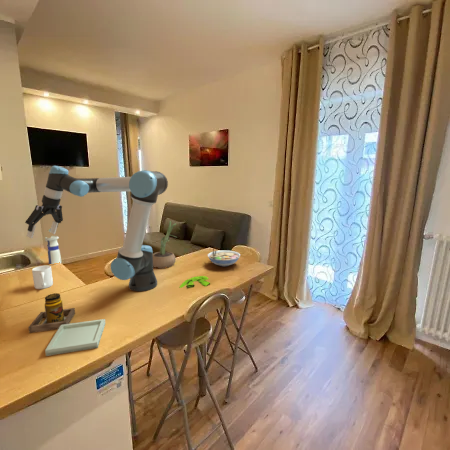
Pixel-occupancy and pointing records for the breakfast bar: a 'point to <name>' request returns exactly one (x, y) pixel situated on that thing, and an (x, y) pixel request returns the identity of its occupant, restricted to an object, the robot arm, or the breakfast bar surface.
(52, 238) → the water bottle
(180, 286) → the cloth
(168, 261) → the potted plant
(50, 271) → the mug
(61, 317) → the condiment
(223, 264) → the ramen bowl
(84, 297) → the breakfast bar surface
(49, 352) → the tray
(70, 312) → the holder
